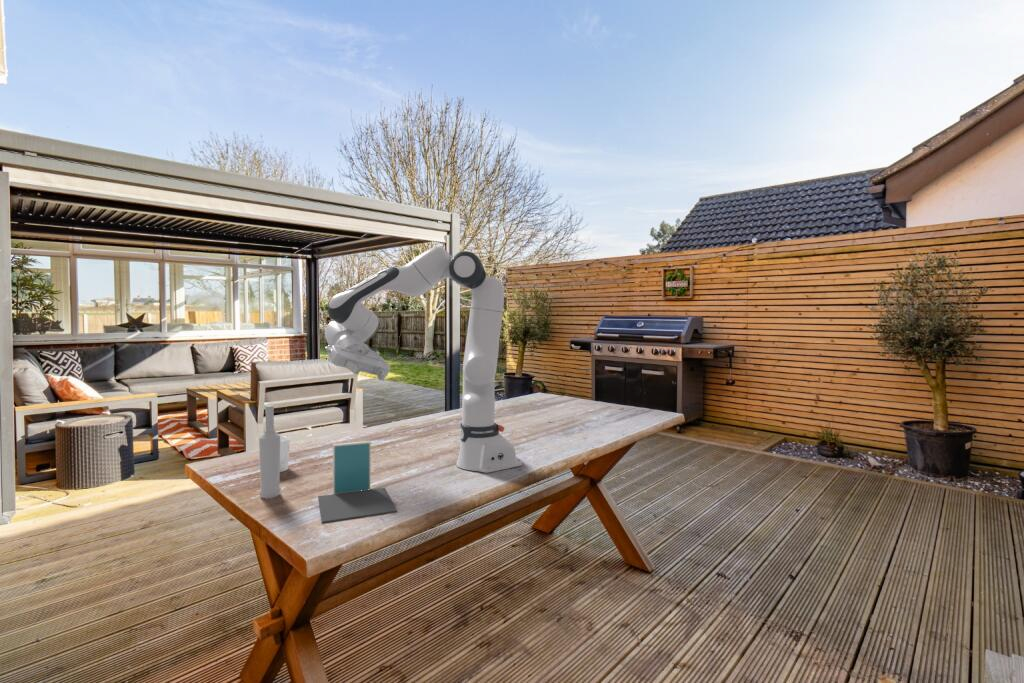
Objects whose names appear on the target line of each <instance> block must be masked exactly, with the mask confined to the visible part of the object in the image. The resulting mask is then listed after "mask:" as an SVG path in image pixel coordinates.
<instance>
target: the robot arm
mask: <svg viewBox="0 0 1024 683" xmlns="http://www.w3.org/2000/svg"><path fill="white" fill-rule="evenodd" d="M445 279H451V280H452V281H453V282H455V284H457V285H459V286H461V287H463V288H467V289H469V290H470V292H471V293H470V294H471V301H470V309H469V315H468V324H467V329H466V339H465V347H464V354H463V361H462V362H463V363H462V394H461V395H462V396H461V399H462V402H461V423H460V429H459V438H460V447H459V453H458V457H457V461H456V466H457V467H458V468H459V469H463V470H467V471H473V472H474V471H475V472H481V473H492V472H498V471H502V470H508V469H511V468H516V467H521V466H523V460H522V458H520V456H517V454H516V448H515V446H514V445H513V443H511V442H510V440H508V439H507V438H506V437H504V436H503V435H502V434H500V432H501V433H503V432H504V431H505V427H504V426H503V425H501V424H497V423H496V422H495V414H496V413H495V412H496V411H495V410H496V408H495V407H496V406H495V405H496V402H495V401H496V397H495V396H496V395H495V388H496V387H495V376H496V373H497V367H498V359H499V351H500V350H499V348H500V338H501V330H502V322H503V314H504V306H505V305H504V304H505V303H504V302H505V289H504V284H503V283H502V281H500V279H498V278H496V277H493V276H489V275H487V274H486V271H485V268H484V265H483V262H482V261H481V259H480V258H479V256H478V255H477V254H475V253H474V252H472V251H469V250H464V251H459V252H457V253H455V254H454V255H453V256H452V255H451V254H450V253H449V252H448V250H446V249H445V248H443V247H441V246H434V247H433V246H432V247H430V248H429V249H427V250H425V251H424V252H422V253H420V254H419V255H417V256H416V257H414V258H413V259H412V260H410V261H408V263H405V264H404V265H401V266H396V267H394V266H390V267H387V268H384V269H382V270H380V271H378V272H376V273H375V274H373V275H371V276H369V277H368V278H365V279H364V280H362V281H361V282H359V283H357V284H356V285H353V286H352V287H350V288H348V289H346V290H343V291H339V292H338V293H335V294H334V295H333V296H331V297H330V299H329V300H328V303H327V313H328V314H327V315H328V318H330V319H331V320H332V321H330V322H329V323H328V324H327V325H326V326H325V328H324V338H325V340H326V342H327V345H326V346H325V350H326V351H327V356H328V359H329V361H330V363H331V364H333V365H334V366H336V367H337V366H338V367H341V368H345V369H348V371H351V373H353V374H354V375H359V374H360V372H361V373H365V374H369V375H373V376H377V377H376V378H377V379H378V381H379V380H380V381H381V382H382V381H385V379H386V377H387V376H388V374H389V373H390V370H391V366H390V365H389V364H388V363H387V361H386V360H385V359H384V358H383V357H382V356H381V355H380V354H381V353H380V351H379V350H377V349H375V348H373V347H371V346H369V345H367V344H365V343H366V342H367V341H368V342H369V340H371V339H372V338H373V337H374V336H375V335H376V334H377V332H378V330H379V325H380V318H379V317H378V315H377V314H375V313H374V312H373V311H372V310H371V309H370V308H368V307H367V306H366V305H364V304H363V302H364V301H366V300H367V299H370V298H371V297H372V296H374V295H376V294H378V293H379V292H382V291H386V290H387V291H388V290H389V291H394V292H398V293H400V294H403V295H405V296H409V297H420V296H422V295H424V294H426V293H427V292H429V291H431V289H432V288H433V287H435V286H436V285H437V284H438V283H440V282H441V281H443V280H445Z"/></svg>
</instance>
